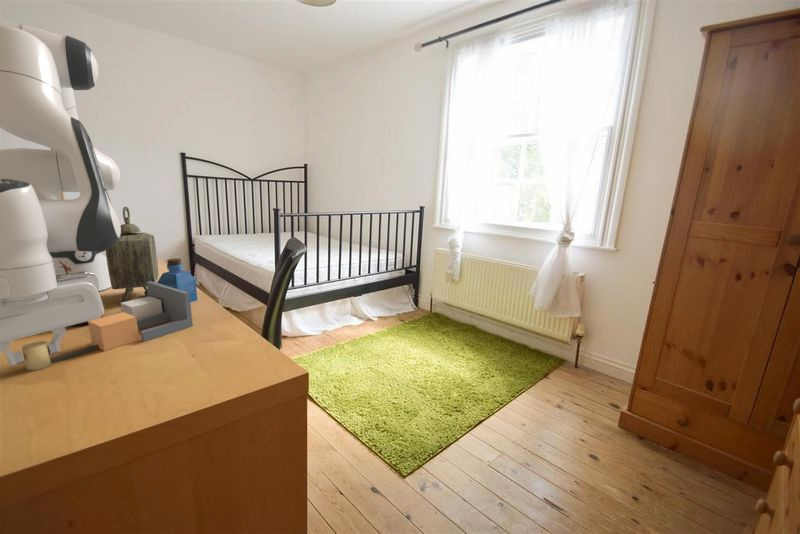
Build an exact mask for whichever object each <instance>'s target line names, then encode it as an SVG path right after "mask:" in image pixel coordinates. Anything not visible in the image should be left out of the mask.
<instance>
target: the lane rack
mask: <svg viewBox="0 0 800 534" xmlns="http://www.w3.org/2000/svg"><path fill="white" fill-rule="evenodd" d="M146 283H147V290H148V296H150V297H153V298H156V299H159V300H161V304H162V312H163V313H159V314H155V315H152V316H148V317H144V318H141V319H137V326H138V331H139V330H141V331H140V337H141V342H148V341H151V340H154V339H157V338H159V337H162V336H166V335H169V334H172V333H175V332H179V331H181V330H184V329H188V328H190V327H193V326H194V325H193V316H192V308H191V307H192V306H191V305H192V303H191V304H190V295H189V292H186V291H182V290H179V289H176V288H172V287H169V286H166V285H162V284H159V283H157V282H152V281H149V282H146ZM148 296H147V297H148ZM118 313H119V312H118ZM118 313H116V314H118ZM120 313H122V311H121V312H120ZM114 314H115V313H114ZM114 314H112V315H114ZM110 315H111V314H110ZM110 315H105V317H107V316H110ZM166 322H168V323H166ZM162 323H163V324H162ZM164 323H165V324H164ZM159 324H161V325H159ZM155 325H156V326H155ZM157 325H158V326H157ZM151 326H154V327H151ZM149 327H151V328H149ZM145 328H147V329H145ZM143 329H145V330H143Z"/></svg>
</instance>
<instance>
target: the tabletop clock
mask: <svg viewBox="0 0 800 534" xmlns="http://www.w3.org/2000/svg"><path fill="white" fill-rule="evenodd" d="M126 212H127V217H126ZM122 217H123V221H124V223H123V224H120V226H121V234H120V239H119V240H118V241H117V242H116V243H115V244H114V245H113V246H111V247H110V248H108V249H107V250H105V256H106V258H107V265H108V271H109V277H110V282H111V289H112V290H121V289H122V290H124V289H125V290H124V295H123V297H120V298H119V302H120V304H121V303H122V302H127V301H128V299H127V296H128V294H129V293H132V292H134V288H135V289H136V288H143V290H144V293H143V294H144V295H145V297H148V290H147V283H146V282H149V281H152V282H155V283H157V282H158V279H159V265H158V257H157V249H156V248H157V247H156V240H155V236H154V235H153V234H150V233H147V232H142V231H141V229H140V228H139V226H137V225H136V224H133V223H131V214H130V210H129V207H127V206H124V207H123V208H122Z"/></svg>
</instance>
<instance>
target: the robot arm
mask: <svg viewBox="0 0 800 534" xmlns="http://www.w3.org/2000/svg"><path fill="white" fill-rule="evenodd" d="M98 64H99V63H98V61H97V59H96V57H95V55H94V53H93V52H92V49H91V47H89V46H88V45H87V44H86V43H85V42H83V41H81V40H80V39H78V38H74V37H73V36H70V35H66V36H65V35H61V34H59V33H56V32H52V31H49V30H46V29H42V28H40V27H36V26H33V25H29V24H25V23H23V24H20V23H17V22H16V23H15V22H11V21H7V20H6V21H5V20H1V19H0V129H2V130H4V131H5V132H7V133H9V134H11V135H13V136H15V137H17V138H19V139H22V140H24V141H28V142H31V143H34V144H36V145H41V146H44V147H47V148H50V149H41V148H38V149H37V148H27V147H26V148H25V147H20V148H18V147H17V148H3V149H0V352H1V353H2V354H4V355H5V356H6V359H7V361H8V364H9V365H10V366H11V367H13V366H17V365H20V364H22V363H25V359H24V355H23V352H21V351H20V350H16V351H13V352H12V351H11V350H10V349H8V348H10V347H11V341H15V340H18V339H22V338H26V337H30V336H31V337H32V336H35V335H37V334H38V335H39V334H42V333H48V332H51V333H52V334H53V336H52V337H51V340H50V342H47V346H48V351H49V356H50V355H54V354H57V353H61V350H62V348H61V345H60V343H61V342H62V341H63V339H64V337H65V335H66V333H67V331H66V327H70V326H76V325H75V324H79V323H83V322H87V321H91V320H95V319H98V318H101V316H102V315H103V316H104V314H105V308H104V304H103V300H102V298H101V294H100V293H99V292H100V291H101V292H102V291H104V290H108V289H110V288H112V286H111V282H110V277H109V271H108V265H107V258H106V255H104V254H102V253H103V252H106V250H107V249H108V248H110V247H111V246H113V245H114V244H115V243H116V242H117V241H118V240H119V239H120V234H121V226H120V225H121V221H120V218H119V217H118V213H117V212H116V210H115V209H114V206H113V205H112V202H111V199H110V195H109V194H108V193H109V192H108V191H111V190H114V189H116V188H117V186H119V184H120V183H121V171H120V170H121V169H120V167H119V166H118V165H117V163H116V162H115V160H113V159H112V158H111V157H110V156H108V155H106V154H105V153H102V152H101V151H100V150H98V149H97V148H96V147H95V146H93V143H92V140H91V137H90V135H89V132H88V131H87V130H86V127H85V126H84V125H83V123H82V122H81V121H80V120H79V119H80V118H79V115H78V114H79V113H78V110H77V103H76V97H75V94H74V91H89V90H91V89H92V88H94V87H95V86H96V83H97V81H98V79H99V75H100V74H99V73H100V72H99V71H100V70H99V65H98ZM61 193H79V196H78V197H77V198H73V199H63V198H62V196H61ZM59 261H61V262H62V263H63V264H66V262H67V264H66V267H70V268H71V271H68V270H67V271H68V274H66V272H65V270H64V268H63V267H61V266H63V265H62V264H60V262H59ZM59 267H61V268H59Z"/></svg>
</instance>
